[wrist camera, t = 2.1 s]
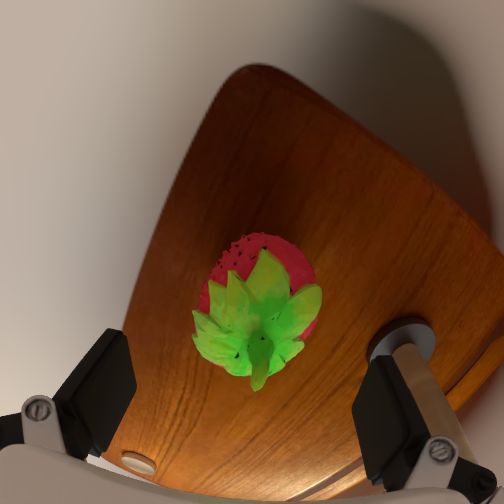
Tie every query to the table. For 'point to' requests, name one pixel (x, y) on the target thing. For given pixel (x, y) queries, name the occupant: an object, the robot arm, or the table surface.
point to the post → (420, 376)
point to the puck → (138, 463)
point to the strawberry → (257, 307)
